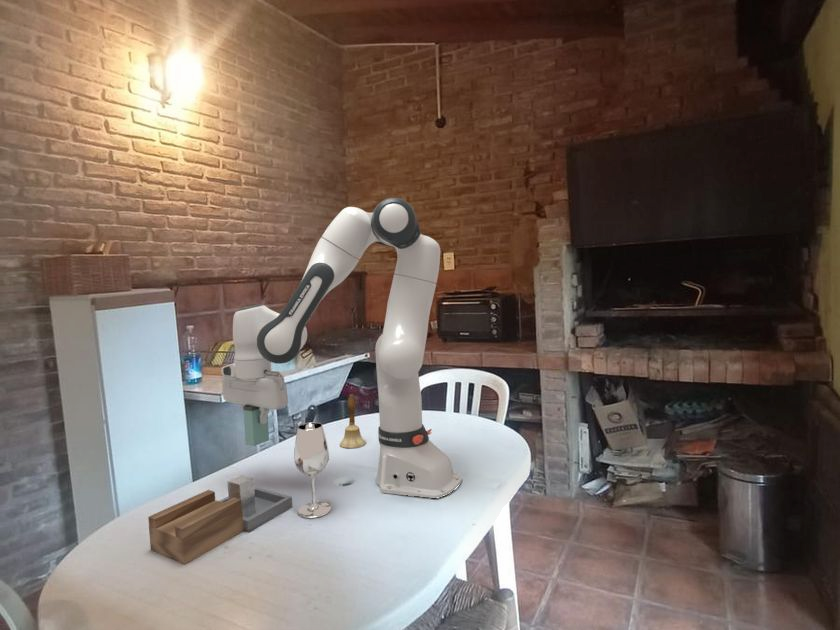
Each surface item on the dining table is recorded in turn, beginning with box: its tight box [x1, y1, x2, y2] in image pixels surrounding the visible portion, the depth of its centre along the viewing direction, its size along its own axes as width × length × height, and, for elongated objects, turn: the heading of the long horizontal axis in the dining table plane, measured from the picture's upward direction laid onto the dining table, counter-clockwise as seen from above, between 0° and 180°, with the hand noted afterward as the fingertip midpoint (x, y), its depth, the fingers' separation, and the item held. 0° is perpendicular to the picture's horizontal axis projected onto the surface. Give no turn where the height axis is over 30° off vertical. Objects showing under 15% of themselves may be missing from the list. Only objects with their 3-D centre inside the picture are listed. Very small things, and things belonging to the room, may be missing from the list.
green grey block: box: [242, 405, 270, 447], centre depth 131 cm, size 5×3×10 cm, turn 149°
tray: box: [218, 486, 293, 533], centre depth 118 cm, size 14×13×2 cm
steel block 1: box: [227, 474, 255, 502], centre depth 116 cm, size 4×4×4 cm
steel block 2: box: [228, 495, 256, 517], centre depth 116 cm, size 4×4×4 cm
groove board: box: [147, 489, 245, 565], centre depth 106 cm, size 11×14×7 cm
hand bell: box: [339, 393, 367, 449], centre depth 162 cm, size 8×8×16 cm
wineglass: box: [293, 422, 332, 519], centre depth 117 cm, size 8×8×20 cm
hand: (256, 422), depth 131 cm, fingers closed on green grey block, 3 cm apart
